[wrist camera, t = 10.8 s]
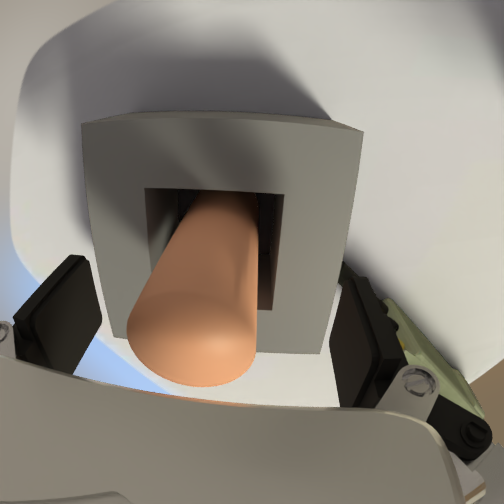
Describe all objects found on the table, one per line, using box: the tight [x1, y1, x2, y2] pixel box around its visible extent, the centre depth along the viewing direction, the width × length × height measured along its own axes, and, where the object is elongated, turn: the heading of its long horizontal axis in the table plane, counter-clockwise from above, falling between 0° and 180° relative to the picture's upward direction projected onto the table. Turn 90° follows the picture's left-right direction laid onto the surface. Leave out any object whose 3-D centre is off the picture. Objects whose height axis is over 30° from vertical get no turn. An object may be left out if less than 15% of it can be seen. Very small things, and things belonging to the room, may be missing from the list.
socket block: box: [81, 111, 364, 354], centre depth 17 cm, size 12×12×6 cm
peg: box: [126, 189, 259, 387], centre depth 15 cm, size 4×4×12 cm
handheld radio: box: [338, 261, 485, 420], centre depth 22 cm, size 7×3×25 cm
